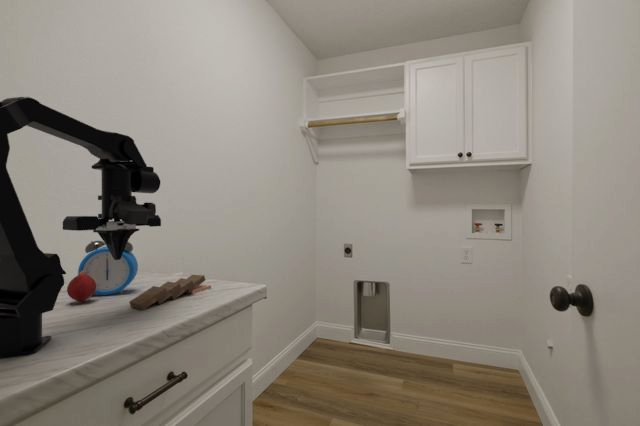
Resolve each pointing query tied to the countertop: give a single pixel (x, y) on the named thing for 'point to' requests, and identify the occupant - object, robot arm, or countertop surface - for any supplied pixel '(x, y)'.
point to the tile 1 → (148, 298)
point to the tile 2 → (169, 290)
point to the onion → (81, 287)
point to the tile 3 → (182, 287)
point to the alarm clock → (109, 268)
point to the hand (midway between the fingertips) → (117, 259)
